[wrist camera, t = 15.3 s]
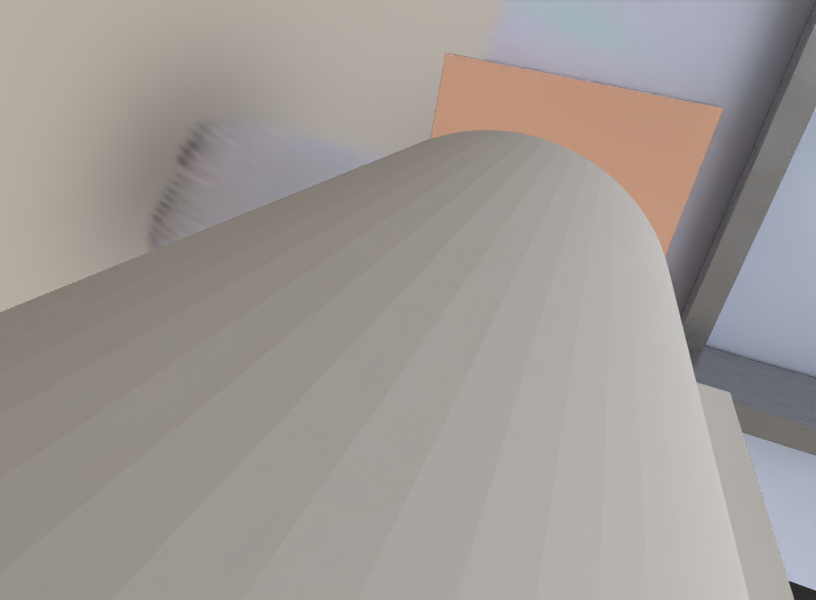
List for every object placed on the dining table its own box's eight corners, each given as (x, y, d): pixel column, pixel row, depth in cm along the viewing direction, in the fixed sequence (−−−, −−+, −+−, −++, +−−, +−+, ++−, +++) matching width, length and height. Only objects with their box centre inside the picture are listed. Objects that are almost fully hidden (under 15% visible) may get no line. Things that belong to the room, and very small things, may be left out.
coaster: (450, 53, 23) (445, 53, 22) (720, 106, 20) (723, 108, 20) (409, 281, 27) (404, 287, 26) (626, 346, 25) (626, 354, 24)
